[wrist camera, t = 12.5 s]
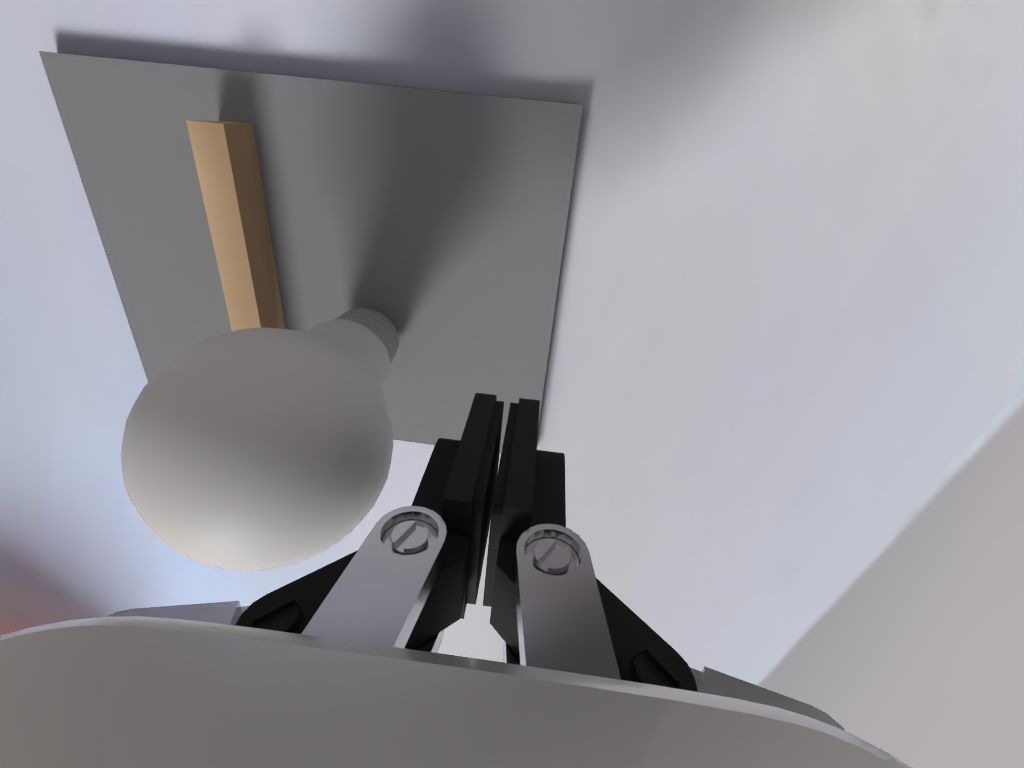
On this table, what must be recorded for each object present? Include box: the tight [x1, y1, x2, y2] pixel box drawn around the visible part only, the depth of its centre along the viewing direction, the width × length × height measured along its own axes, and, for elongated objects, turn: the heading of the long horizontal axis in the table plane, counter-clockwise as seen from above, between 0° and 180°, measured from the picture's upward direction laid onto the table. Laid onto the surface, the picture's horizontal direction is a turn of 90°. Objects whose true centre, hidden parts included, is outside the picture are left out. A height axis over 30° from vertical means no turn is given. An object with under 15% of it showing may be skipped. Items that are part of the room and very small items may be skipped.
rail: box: [186, 120, 285, 332], centre depth 19 cm, size 1×13×2 cm, turn 175°
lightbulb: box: [121, 307, 399, 570], centre depth 14 cm, size 6×6×11 cm
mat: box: [39, 51, 583, 453], centre depth 19 cm, size 18×14×1 cm
